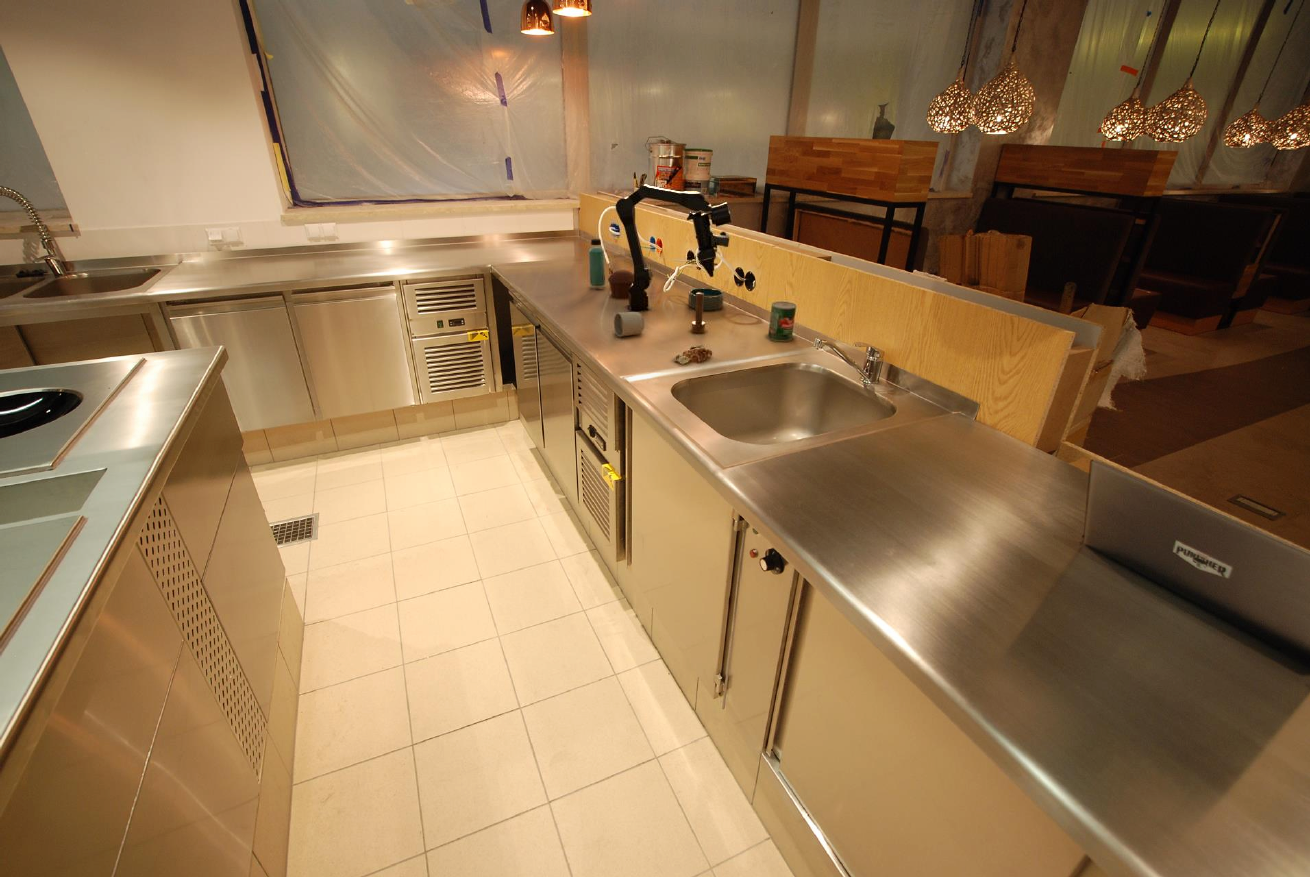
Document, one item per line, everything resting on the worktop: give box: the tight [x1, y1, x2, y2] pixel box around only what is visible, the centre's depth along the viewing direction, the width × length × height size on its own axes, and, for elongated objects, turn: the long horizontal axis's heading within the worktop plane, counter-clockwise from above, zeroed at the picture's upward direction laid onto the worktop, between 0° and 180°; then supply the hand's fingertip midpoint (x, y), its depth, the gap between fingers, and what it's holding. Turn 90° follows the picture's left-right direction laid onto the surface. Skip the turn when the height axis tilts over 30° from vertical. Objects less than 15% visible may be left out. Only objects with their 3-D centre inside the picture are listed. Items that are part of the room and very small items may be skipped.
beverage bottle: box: [588, 238, 606, 287], centre depth 239 cm, size 6×7×20 cm
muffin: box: [607, 269, 634, 300], centre depth 230 cm, size 12×11×10 cm
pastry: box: [674, 344, 713, 365], centre depth 170 cm, size 7×12×4 cm, turn 134°
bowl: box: [687, 287, 725, 312], centre depth 220 cm, size 13×13×6 cm
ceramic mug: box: [613, 311, 645, 338], centre depth 189 cm, size 11×8×8 cm
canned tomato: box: [767, 301, 797, 342], centre depth 187 cm, size 8×8×11 cm
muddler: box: [691, 292, 706, 335], centre depth 191 cm, size 4×4×13 cm
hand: (712, 273), depth 208 cm, fingers open, 9 cm apart
